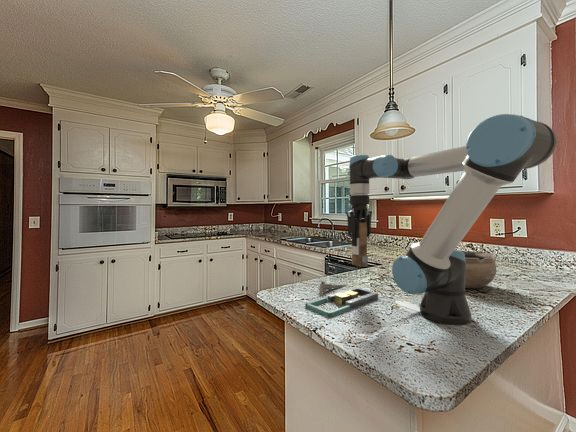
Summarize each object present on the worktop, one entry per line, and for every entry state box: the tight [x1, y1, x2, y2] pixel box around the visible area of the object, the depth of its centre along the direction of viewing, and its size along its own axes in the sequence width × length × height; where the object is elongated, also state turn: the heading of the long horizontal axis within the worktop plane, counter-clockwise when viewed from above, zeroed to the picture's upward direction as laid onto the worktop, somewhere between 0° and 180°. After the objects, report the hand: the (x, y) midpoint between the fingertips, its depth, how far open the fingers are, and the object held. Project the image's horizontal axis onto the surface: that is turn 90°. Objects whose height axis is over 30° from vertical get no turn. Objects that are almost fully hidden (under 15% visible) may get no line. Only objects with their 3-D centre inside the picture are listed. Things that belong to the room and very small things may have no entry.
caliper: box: [318, 280, 348, 295], centre depth 120 cm, size 20×1×6 cm, turn 131°
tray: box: [305, 296, 351, 318], centre depth 97 cm, size 12×10×2 cm
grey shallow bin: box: [326, 286, 379, 310], centre depth 106 cm, size 12×17×3 cm
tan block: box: [334, 293, 350, 306], centre depth 102 cm, size 4×4×3 cm
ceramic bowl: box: [461, 250, 498, 289], centre depth 125 cm, size 22×22×15 cm
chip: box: [344, 291, 358, 300], centre depth 104 cm, size 4×4×3 cm
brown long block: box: [351, 222, 369, 268], centre depth 108 cm, size 6×4×17 cm, turn 38°
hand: (359, 253), depth 108 cm, fingers closed on brown long block, 4 cm apart
